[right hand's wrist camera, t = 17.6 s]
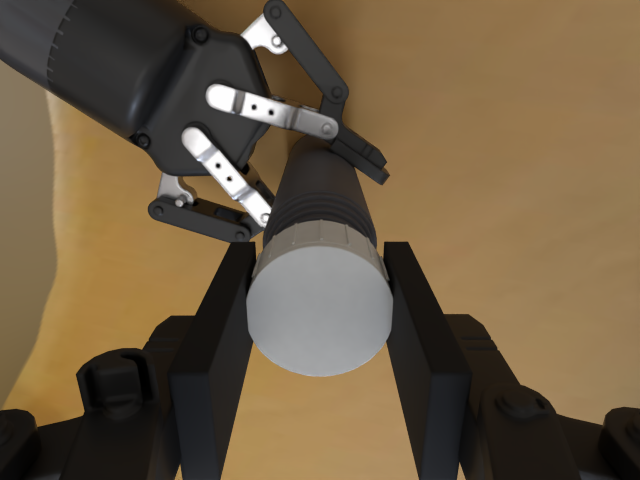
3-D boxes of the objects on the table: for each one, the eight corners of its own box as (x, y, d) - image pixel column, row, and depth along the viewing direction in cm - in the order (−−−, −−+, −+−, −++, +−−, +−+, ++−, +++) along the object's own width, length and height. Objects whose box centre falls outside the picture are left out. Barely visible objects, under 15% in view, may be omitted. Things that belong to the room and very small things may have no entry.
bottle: (275, 164, 32) (213, 303, 13) (319, 118, 31) (318, 200, 12) (320, 206, 33) (320, 389, 14) (364, 163, 32) (426, 303, 13)
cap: (317, 189, 14) (317, 211, 12) (413, 279, 15) (428, 313, 13) (226, 282, 15) (211, 316, 13) (322, 359, 16) (322, 402, 14)
